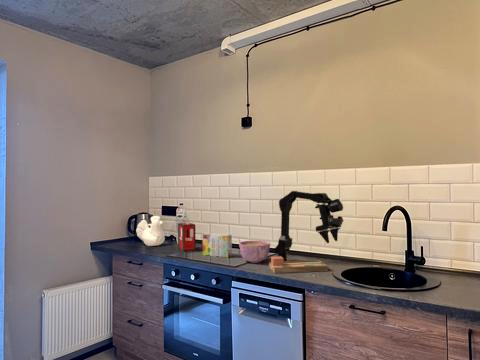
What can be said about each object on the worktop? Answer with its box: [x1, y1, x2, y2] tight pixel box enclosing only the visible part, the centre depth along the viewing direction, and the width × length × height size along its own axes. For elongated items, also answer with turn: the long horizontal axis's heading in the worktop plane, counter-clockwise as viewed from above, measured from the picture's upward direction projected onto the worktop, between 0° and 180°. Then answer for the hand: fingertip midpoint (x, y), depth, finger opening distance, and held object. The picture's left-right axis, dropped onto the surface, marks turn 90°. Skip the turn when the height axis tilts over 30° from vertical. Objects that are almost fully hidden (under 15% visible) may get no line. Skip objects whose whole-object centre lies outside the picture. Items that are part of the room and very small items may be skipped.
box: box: [268, 259, 329, 274], centre depth 189 cm, size 16×30×3 cm, turn 96°
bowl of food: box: [238, 240, 271, 264], centre depth 210 cm, size 20×20×12 cm
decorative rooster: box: [135, 215, 166, 247], centre depth 277 cm, size 25×16×25 cm, turn 61°
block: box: [270, 255, 284, 266], centre depth 191 cm, size 6×6×4 cm
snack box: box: [202, 232, 233, 259], centre depth 229 cm, size 21×6×15 cm, turn 59°
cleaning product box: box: [177, 222, 197, 253], centre depth 252 cm, size 16×9×20 cm, turn 25°
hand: (332, 242), depth 185 cm, fingers open, 9 cm apart
